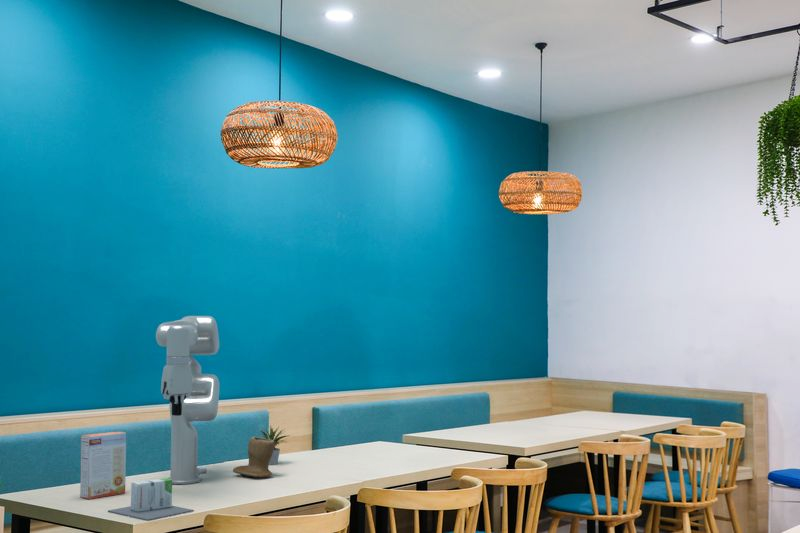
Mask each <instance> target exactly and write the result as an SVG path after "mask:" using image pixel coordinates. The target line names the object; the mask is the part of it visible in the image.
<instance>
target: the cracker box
mask: <svg viewBox="0 0 800 533" xmlns="http://www.w3.org/2000/svg"><path fill="white" fill-rule="evenodd" d="M80 438H81V439H80V483H79V484H80V486H79V488H80V491H79V492H80V494H79V496H80V498H82V499H87V500H92V499H99V498H104V497H109V496H117V495H123V494H126V476H127V475H126V474H127V473H126V472H127V470H126V468H127V467H126V465H127V463H126V462H127V432H124V431H119V430H118V431H110V432H108V431H107V432H99V433H90V434H83V435H81V436H80Z"/></svg>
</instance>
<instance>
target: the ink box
mask: <svg viewBox="0 0 800 533" xmlns="http://www.w3.org/2000/svg"><path fill="white" fill-rule="evenodd" d="M167 478H168V477H165V478H158V479H157V478H156V479H150V480H144V481H136V482H131V483H130V484H131V487H130V488H131V489H130V490H131V491H130V492H131V493H130V506H131V510H133V511H136V512H141V511H148V510H155V509H161V508H168V507H172V506H173V505H172V504H173V484H172V480H171V479H167Z"/></svg>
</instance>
